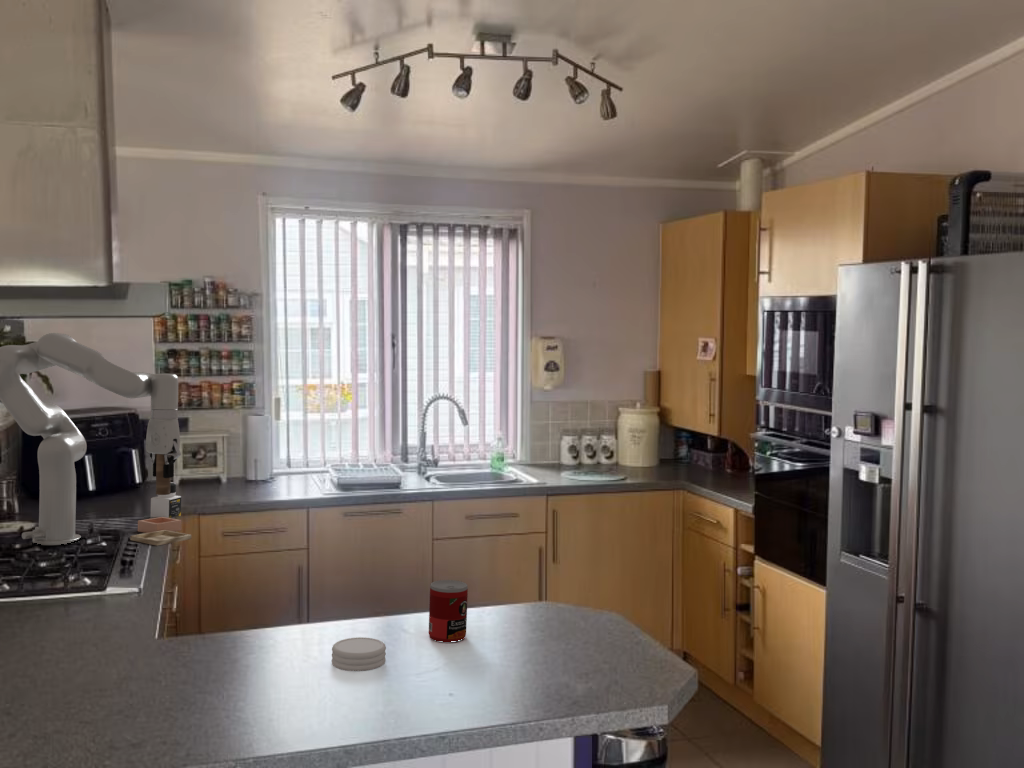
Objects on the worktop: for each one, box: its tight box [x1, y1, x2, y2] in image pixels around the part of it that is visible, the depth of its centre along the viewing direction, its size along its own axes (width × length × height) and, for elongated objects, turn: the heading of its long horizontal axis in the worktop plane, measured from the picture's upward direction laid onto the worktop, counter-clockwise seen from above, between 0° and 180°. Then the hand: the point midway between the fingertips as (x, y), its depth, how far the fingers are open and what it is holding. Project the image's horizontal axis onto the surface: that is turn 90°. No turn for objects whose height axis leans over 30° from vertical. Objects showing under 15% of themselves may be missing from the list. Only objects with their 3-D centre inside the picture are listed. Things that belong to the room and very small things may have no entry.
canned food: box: [428, 579, 469, 642], centre depth 181 cm, size 8×8×11 cm
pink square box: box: [137, 517, 182, 534], centre depth 274 cm, size 9×9×4 cm
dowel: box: [155, 452, 172, 496], centre depth 261 cm, size 4×4×14 cm
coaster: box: [331, 636, 387, 672], centre depth 165 cm, size 10×10×4 cm
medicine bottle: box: [150, 481, 182, 519], centre depth 299 cm, size 7×7×12 cm
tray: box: [129, 530, 192, 547], centre depth 261 cm, size 12×12×2 cm
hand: (163, 476), depth 261 cm, fingers closed on dowel, 4 cm apart
